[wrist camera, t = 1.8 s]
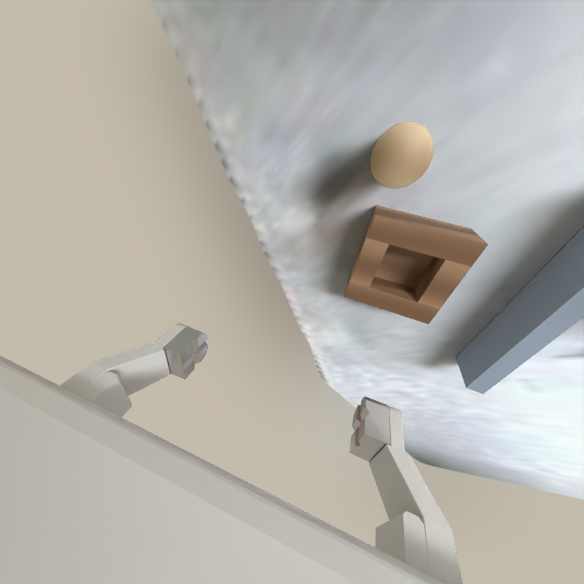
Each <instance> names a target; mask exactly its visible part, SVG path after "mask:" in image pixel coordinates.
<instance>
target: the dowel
mask: <svg viewBox="0 0 584 584" xmlns="http://www.w3.org/2000/svg"><path fill="white" fill-rule="evenodd" d="M433 150H434V145H433V139H432V136H431V134H430V133H429V131H428V130H427V129H426V128H425V127H424V126H422V125H421V124H418V123H415V122H404V123H400V124H397V125H395V126H393V127H391V128H390V129H388V130H387V131H386V132H384V133H383V134H382V135H381V137H380V138H379V139H378V141H377V142H376V144H375V146H374V148H373V151H372V154H371V159H370V167H371V172H372V175H373V177H374V178H375V180H376V181H377V182H378V183H379V184H381V185H382V186H384V187H387V188H392V189H397V188H403V187H406V186H408V185H410V184H412V183H414V182H415V181H416V180H418V179H419V178H420V177H421V176H422V175H423V174H424V172H425V171H426V170H427V168H428V166H429V164H430V162H431V160H432V156H433Z"/></svg>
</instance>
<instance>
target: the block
mask: <svg viewBox="0 0 584 584" xmlns="http://www.w3.org/2000/svg"><path fill="white" fill-rule="evenodd" d="M487 245H488V244H487V243H486V242H485V241H484V240H483V239H482V238H480V237H479V236H478V235H477V234H476V233H475V232H474V231H473V230H472V229H469V228H465V227H461V226H457V225H453V224H449V223H445V222H441V221H437V220H433V219H429V218H425V217H421V216H417V215H413V214H409V213H405V212H401V211H397V210H393V209H388V208H384V207H380V206H376V207H375V210H374V212H373V215H372V218H371V220H370V223H369V226H368V228H367V231H366V234H365V236H364V239H363V242H362V244H361V247H360V250H359V252H358V255H357V258H356V261H355V263H354V266H353V269H352V271H351V274H350V277H349V279H348V283H347V287H346V291H345V295H344V297H347V298H350V299H353V300H357V301H360V302H363V303H366V304H369V305H372V306H375V307H378V308H381V309H384V310H387V311H390V312H393V313H396V314H399V315H402V316H405V317H408V318H411V319H414V320H417V321H420V322H423V323H426V324H429V323H430V322H431V320H432V319H433V318H434V316H435V315H436V314H437V312H438V311H439V310H440V308H441V307H442V306H443V304H444V303H445V301H446V300H447V299H448V297H449V296H450V295H451V293H452V292H453V291H454V289H455V288H456V287H457V285H458V284H459V283H460V281H461V280H462V279H463V277H464V276H465V275H466V273H467V272H468V271H469V269H470V268H471V267H472V265H473V264H474V263H475V261H476V260H477V259H478V257H479V256H480V255H481V253H482V252H483V251H484V249H485V248H486V246H487Z"/></svg>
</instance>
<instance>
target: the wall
mask: <svg viewBox="0 0 584 584" xmlns="http://www.w3.org/2000/svg"><path fill="white" fill-rule="evenodd" d="M583 317H584V226H583V227H582V229H581V230H580V231H579V232H578V233H577V234H576V235H575V236H574V237H573V238H572V239H571V240H570V241H569V242H568V243H567V244H566V245H565V246H564V247H563V248H562V249H561V250H560V251H559V252H558V253H557V254H556V255H555V256H554V257H553V258H552V259H551V260H550V261H549V262H548V263H547V264H546V265H545V266H544V268H543V269H542V270H541V271H540V272H539V273H538V274H537V275H536V276H535V277H534V278H533V279H532V280H531V281H530V282H529V283H528V284H527V285H526V286H525V287H524V288H523V289H522V290H521V291H520V292H519V293H518V294H517V295H516V296H515V297H514V298H513V299H512V300H511V301H510V302H509V303H508V304H507V306H506V307H505V308H504V309H503V310H502V311H501V312H500V313H499V314H498V315H497V316H496V317H495V318H494V319H493V320H492V321H491V322H490V323H489V324H488V325H487V326H486V327H485V328H484V329H483V330H482V331H481V332H480V333H479V334H478V335H477V336H476V337H475V338H474V339H473V340H472V341H471V342H470V344H469V345H468V346H467V347H466V348H465V349H464V350H463V351H462V352H461V353H460V354H459V355H458V356H457V357H456V359H457V362H458V365H459V368H460V371H461V374H462V377H463V380H464V383H465V386H466V388H469V389H471V390H474V391H477V392H480V393H482V394H484V393H485V392H486V391H488V390H489V389H490V388H492V387H493V386H494V385H496V384H497V383H498V382H500V381H501V380H502V379H503V378H505V377H506V376H507V375H509V374H510V373H511V372H513V371H514V370H515V369H516V368H518V367H519V366H520V365H522V364H523V363H524V362H526V361H527V360H528V359H529V358H531V357H532V356H533V355H535V354H536V353H537V352H539V351H540V350H541V349H542V348H544V347H545V346H546V345H548V344H549V343H550V342H552V341H553V340H554V339H555V338H557V337H558V336H559V335H561V334H562V333H563V332H565V331H566V330H567V329H569V328H570V327H571V326H572V325H574V324H575V323H576V322H578V321H579V320H580V319H582V318H583Z"/></svg>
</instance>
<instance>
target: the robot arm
mask: <svg viewBox="0 0 584 584" xmlns="http://www.w3.org/2000/svg"><path fill="white" fill-rule="evenodd" d="M206 339H207V336H206V334H204V333H202V332H200V331H197V330H195V329H192V328H190V327H188V326H185V325H183V324H177V325H175V326H174V327H173V328H172V329H170V330H169V331H168V332H167V333H166V334H164V335H163V336H162V337H161V338H160V339H158V340H157V341H156V342H155V343H154V344H147V345H144V346H141V347H137V348H134V349H131V350H128V351H125V352H122V353H119V354H116V355H113V356H110V357H106V358H103V359H100V360H97V361H94V362H92V363H90V364H89V365H88V366H87V367H85V368H84V369H82V370H81V371H79V372H78V373H77V374H75V375H74V376H72V377H71V378H70V379H68V380H67V381H66V382H64V383H63V384H61V385H60V386H59V385H57V384H55V383H53V382H51V381H49V380H47V379H45V378H43V377H41V376H39V375H37V374H35V373H33V372H31V371H29V370H27V369H25V368H23V367H21V366H20V365H18V364H16V363H14V362H12V361H10V360H8V359H6V358H4V357H2V356H0V584H463V583H462V578H461V573H460V568H459V563H458V558H457V552H456V547H455V542H454V537H453V532H452V530H451V528H450V527H449V525H448V523H447V521H446V519H445V518H444V516H443V514H442V512H441V511H440V509H439V507H438V505H437V503H436V502H435V500H434V498H433V496H432V494H431V493H430V491H429V489H428V487H427V486H426V484H425V482H424V480H423V479H422V477H421V475H420V473H419V472H418V470H417V468H416V466H415V464H414V463H413V461H412V459H411V457H410V455H409V454H408V453H407V452H405V450H404V439H403V428H402V417H401V412H400V410H398V409H396V408H393V407H390V406H388V405H386V404H384V403H381V402H378V401H376V400H373V399H370V398H368V397H363V399H362V400H361V405H359V406H358V407H357V408H356V411H355V414H354V417H353V424H352V427H353V429H354V431H355V432H354V433H353V435H352V436H351V445H350V453H352V454H354V455H356V456H358V457H360V458H362V459H364V460H367V461H369V465H370V467H371V470H372V473H373V476H374V478H375V481H376V484H377V487H378V490H379V492H380V495H381V498H382V500H383V503H384V506H385V509H386V512H387V515H388V518H389V521H387V522H386V523H384V524H382V525H380V526H379V527H377V528H376V548H375V547H373V546H371V545H369V544H367V543H365V542H363V541H361V540H359V539H357V538H355V537H353V536H351V535H349V534H348V533H346V532H344V531H342V530H340V529H338V528H336V527H334V526H332V525H330V524H328V523H326V522H324V521H322V520H320V519H318V518H316V517H314V516H312V515H310V514H309V513H307V512H305V511H303V510H301V509H299V508H297V507H295V506H293V505H291V504H289V503H287V502H285V501H283V500H281V499H279V498H277V497H275V496H273V495H271V494H269V493H268V492H265V491H264V490H262V489H260V488H258V487H256V486H254V485H252V484H250V483H248V482H246V481H244V480H242V479H240V478H238V477H236V476H234V475H232V474H230V473H228V472H227V471H225V470H223V469H221V468H219V467H217V466H214V465H213V464H211V463H209V462H207V461H205V460H203V459H201V458H199V457H197V456H195V455H193V454H191V453H189V452H187V451H186V450H183V449H182V448H180V447H178V446H176V445H174V444H172V443H170V442H168V441H166V440H164V439H162V438H160V437H158V436H156V435H154V434H152V433H150V432H148V431H146V430H145V429H143V428H141V427H139V426H137V425H135V424H133V423H131V422H129V421H127V420H125V419H123V418H121V417H122V416H123V415H124V414H125V413H126V412H127V411H128V410H129V409H130V408H131V405H132V404H131V401H130V399H129V397H128V396H129V395H131V394H133V393H135V392H137V391H139V390H141V389H143V388H145V387H147V386H149V385H150V384H152V383H154V382H156V381H158V380H160V379H162V378H164V377H166V376H168V375H169V374H170V373H171V374H173V375H176V376H178V377H181V378H183V379H186V378H187V377H188V375H189V374H190V373H191V372H192V371H193V370H194V366H195V364H196V363H199V362H200V361H201V360H202V359H203V358H204V356H205V355H206V353H207V349H208V346H207V344H206V342H205V340H206Z"/></svg>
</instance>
